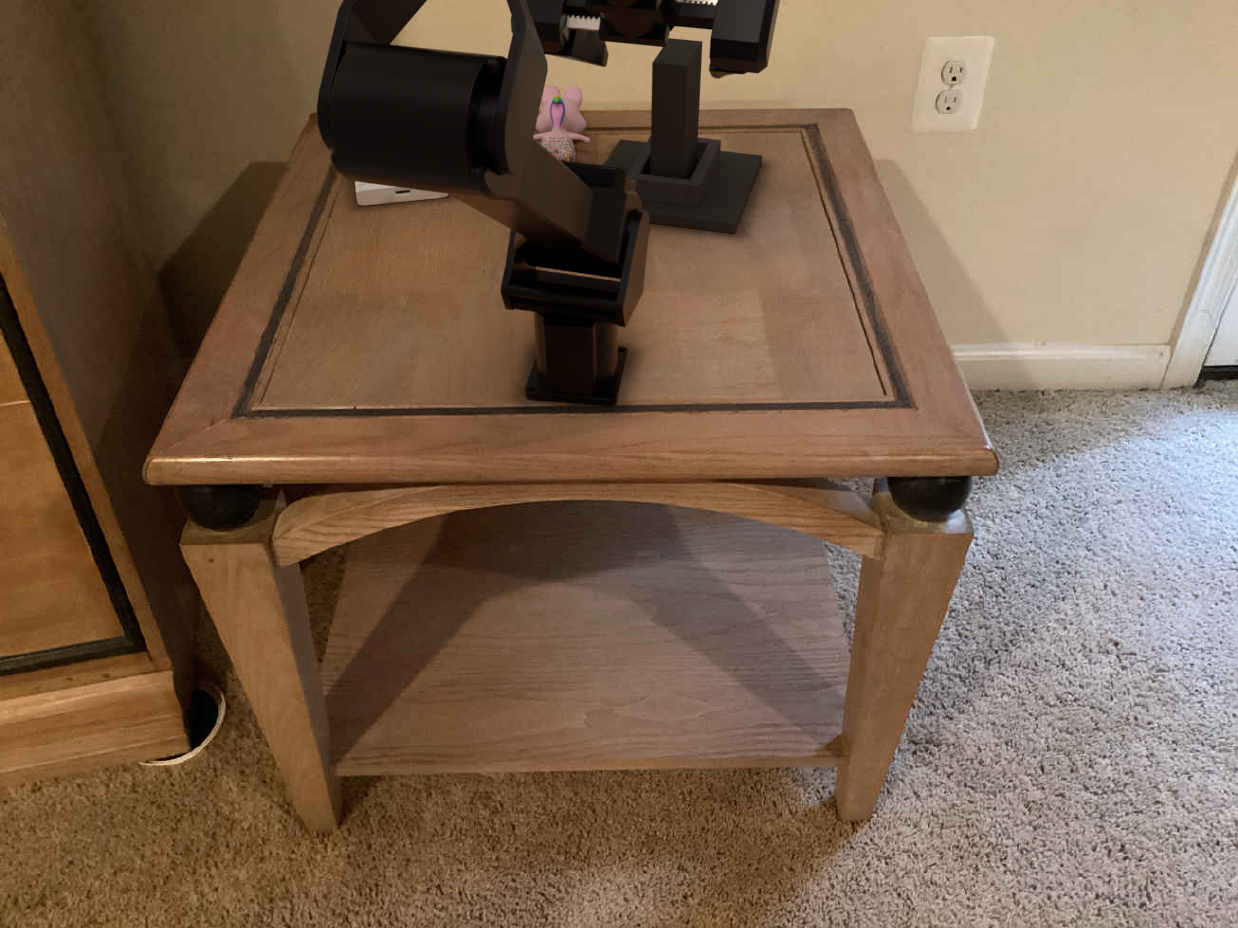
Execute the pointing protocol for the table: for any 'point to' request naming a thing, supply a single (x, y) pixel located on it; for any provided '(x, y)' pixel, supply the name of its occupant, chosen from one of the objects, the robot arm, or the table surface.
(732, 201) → the base pad
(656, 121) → the black tall block
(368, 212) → the table surface
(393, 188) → the hard drive
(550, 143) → the rabbit figure
